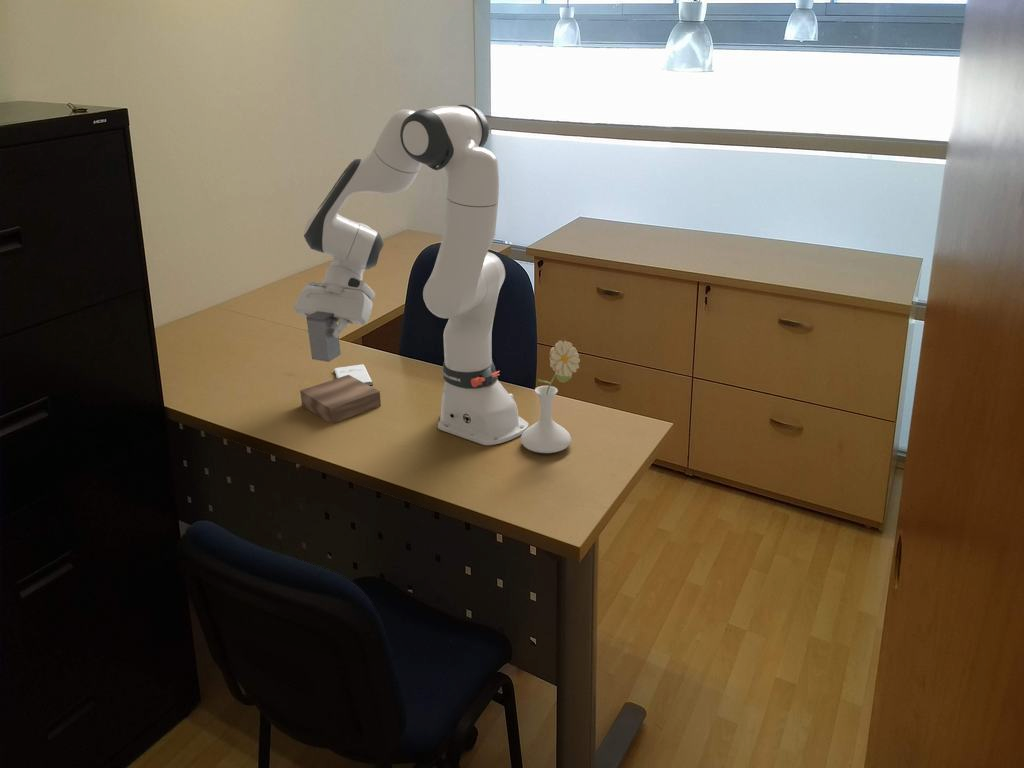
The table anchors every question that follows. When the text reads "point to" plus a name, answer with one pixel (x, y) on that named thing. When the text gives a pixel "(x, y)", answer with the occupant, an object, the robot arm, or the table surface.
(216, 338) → the table surface
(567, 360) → the flower in vase
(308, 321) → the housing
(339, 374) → the external hard drive
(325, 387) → the stand
